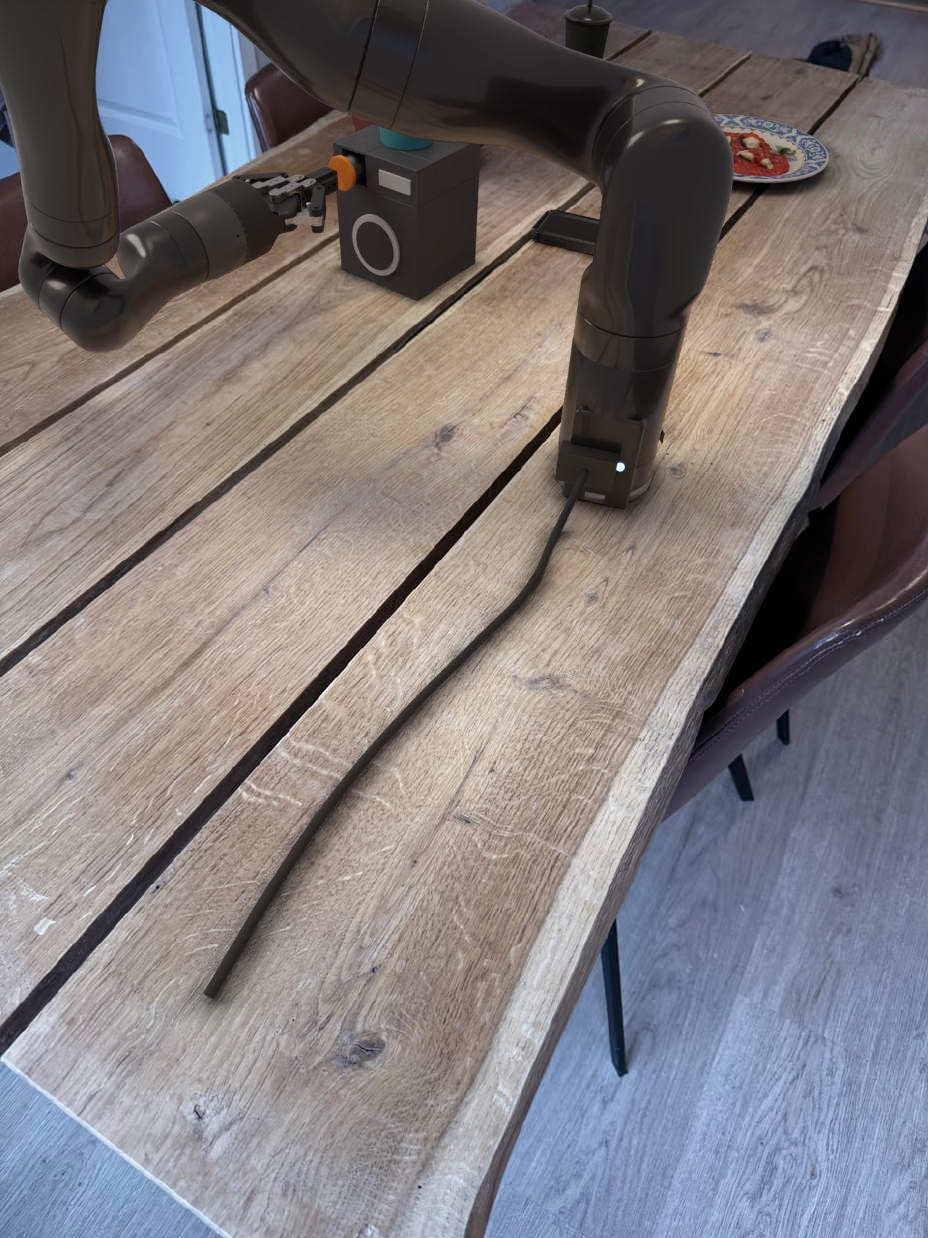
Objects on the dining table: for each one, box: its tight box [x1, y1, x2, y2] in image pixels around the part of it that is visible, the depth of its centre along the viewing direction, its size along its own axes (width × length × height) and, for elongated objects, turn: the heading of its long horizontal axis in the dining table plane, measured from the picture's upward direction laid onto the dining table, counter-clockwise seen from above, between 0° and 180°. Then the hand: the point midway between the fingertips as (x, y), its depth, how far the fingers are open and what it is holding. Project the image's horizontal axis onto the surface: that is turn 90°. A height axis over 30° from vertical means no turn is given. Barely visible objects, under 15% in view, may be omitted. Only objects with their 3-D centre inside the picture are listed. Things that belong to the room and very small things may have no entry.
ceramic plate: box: [712, 113, 830, 184], centre depth 139 cm, size 26×26×3 cm
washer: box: [332, 124, 482, 301], centre depth 108 cm, size 13×12×15 cm
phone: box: [530, 208, 599, 256], centre depth 120 cm, size 8×1×15 cm
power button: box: [327, 152, 366, 191], centre depth 102 cm, size 4×4×4 cm
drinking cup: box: [563, 0, 614, 60], centre depth 145 cm, size 8×8×20 cm
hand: (332, 177), depth 100 cm, fingers closed
